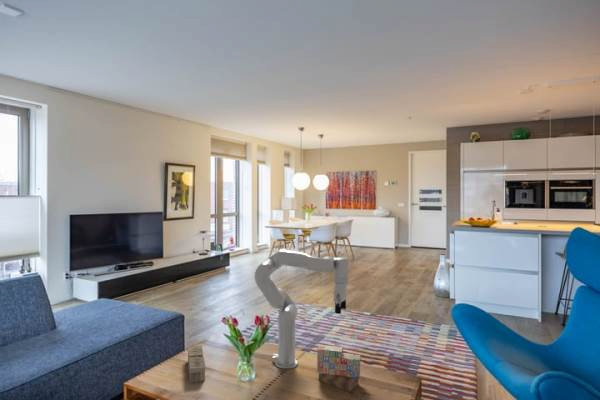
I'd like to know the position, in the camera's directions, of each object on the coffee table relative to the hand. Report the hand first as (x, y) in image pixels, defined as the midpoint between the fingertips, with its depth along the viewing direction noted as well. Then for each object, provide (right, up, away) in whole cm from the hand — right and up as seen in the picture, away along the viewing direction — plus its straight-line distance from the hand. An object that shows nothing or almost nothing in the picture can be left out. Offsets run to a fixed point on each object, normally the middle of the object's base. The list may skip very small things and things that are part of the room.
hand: (340, 311), depth 200 cm
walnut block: (-3, -32, -16) cm, 36 cm away
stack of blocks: (-3, -27, -16) cm, 31 cm away
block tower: (-78, -31, -6) cm, 84 cm away
